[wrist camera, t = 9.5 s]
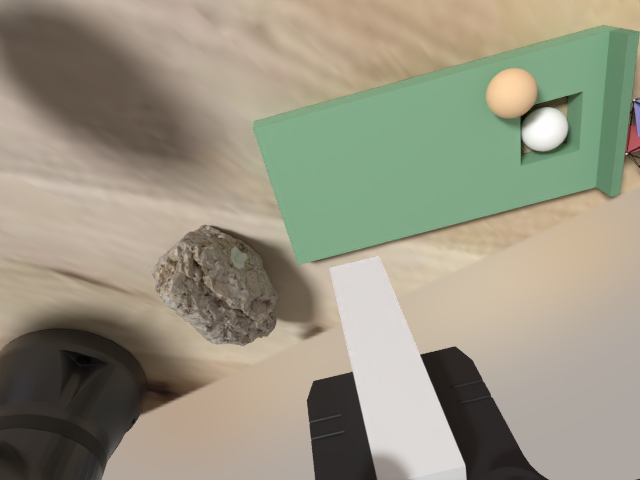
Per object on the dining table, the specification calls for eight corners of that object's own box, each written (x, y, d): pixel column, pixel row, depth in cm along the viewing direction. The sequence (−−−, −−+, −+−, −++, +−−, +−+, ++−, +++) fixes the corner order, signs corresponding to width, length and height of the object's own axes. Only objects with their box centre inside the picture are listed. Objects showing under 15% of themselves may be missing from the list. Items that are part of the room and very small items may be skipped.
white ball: (563, 159, 36) (571, 140, 38) (564, 116, 34) (572, 99, 36) (516, 158, 38) (526, 140, 40) (515, 118, 36) (525, 101, 38)
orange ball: (479, 116, 36) (498, 129, 33) (476, 71, 34) (497, 81, 31) (523, 104, 36) (546, 117, 33) (523, 58, 34) (547, 67, 31)
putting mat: (296, 253, 43) (299, 277, 40) (254, 121, 36) (252, 137, 33) (591, 176, 42) (619, 194, 38) (603, 25, 35) (639, 31, 32)
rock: (328, 313, 39) (268, 385, 39) (279, 260, 47) (228, 320, 47) (208, 230, 30) (130, 322, 30) (172, 182, 38) (111, 255, 38)
